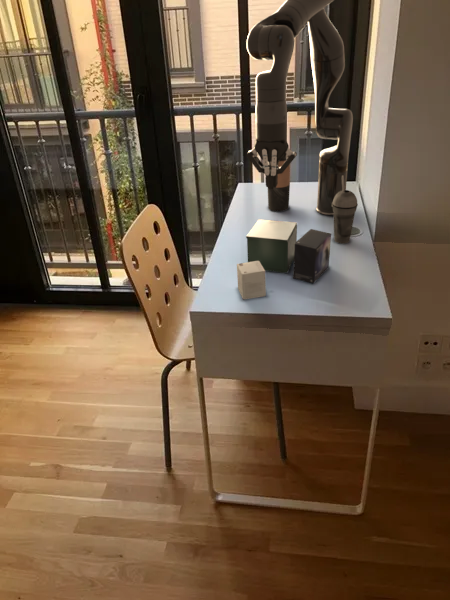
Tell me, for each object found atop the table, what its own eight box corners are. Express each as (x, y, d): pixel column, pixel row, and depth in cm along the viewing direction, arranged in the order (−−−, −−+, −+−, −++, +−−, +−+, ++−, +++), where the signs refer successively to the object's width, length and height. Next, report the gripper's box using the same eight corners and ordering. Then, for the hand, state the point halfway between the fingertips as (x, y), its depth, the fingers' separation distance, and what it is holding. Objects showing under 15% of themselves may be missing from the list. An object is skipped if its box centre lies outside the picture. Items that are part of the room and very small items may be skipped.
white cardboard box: (266, 296, 128) (266, 270, 124) (242, 300, 127) (241, 274, 123) (259, 285, 133) (259, 260, 129) (237, 288, 132) (236, 263, 128)
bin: (287, 273, 138) (287, 241, 133) (247, 268, 141) (246, 238, 136) (296, 254, 147) (297, 224, 142) (259, 250, 150) (258, 221, 145)
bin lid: (287, 242, 132) (287, 240, 132) (246, 238, 135) (246, 236, 135) (297, 224, 142) (297, 222, 142) (258, 221, 145) (258, 219, 145)
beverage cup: (354, 246, 149) (360, 180, 139) (329, 245, 151) (333, 179, 140) (354, 235, 156) (360, 171, 145) (330, 234, 157) (334, 171, 146)
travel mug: (293, 205, 179) (294, 148, 169) (283, 213, 174) (284, 154, 163) (273, 202, 183) (273, 146, 172) (263, 209, 177) (263, 152, 167)
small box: (314, 284, 132) (316, 248, 126) (292, 279, 135) (292, 243, 129) (330, 267, 139) (332, 232, 134) (308, 262, 142) (309, 228, 137)
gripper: (301, 116, 123) (300, 185, 132) (249, 115, 127) (251, 182, 136) (295, 123, 117) (293, 195, 126) (240, 122, 121) (243, 192, 130)
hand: (271, 188), depth 131 cm, fingers closed
